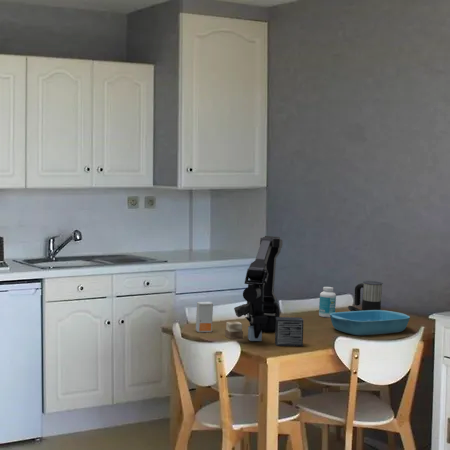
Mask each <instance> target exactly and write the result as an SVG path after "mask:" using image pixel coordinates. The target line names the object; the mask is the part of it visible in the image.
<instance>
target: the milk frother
mask: <svg viewBox="0 0 450 450" xmlns="http://www.w3.org/2000/svg"><path fill="white" fill-rule="evenodd" d="M383 284H384V283H383V282H382V281H376V280H375V281H373V280H365V281H363V282H362V283H358V284H357V285H356V286H355V287H354V305H355V306H360V305H361V309H359V308H358V307H355V306H353V305H349V306H348V307H347V308H348V311H365V310H382V308H381V307H382V305H381V304H382V294H383V293H382V291H383ZM361 289H362V291H361ZM361 292H362V293H361ZM361 294H362V298H361ZM361 299H362V301H361Z"/></svg>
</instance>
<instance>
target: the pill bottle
mask: <svg viewBox="0 0 450 450" xmlns="http://www.w3.org/2000/svg"><path fill="white" fill-rule="evenodd" d="M322 290H323V291H322V292H320V293H319V305H318V315H319V317H322V318H328V319H329V318H330V319H331V317H330V313H335V312H336V303H337V301H336V300H337V299H336V298H337V296H336V295H337V294H336V292H334V287H333V286H332V287H331V286H323V287H322Z"/></svg>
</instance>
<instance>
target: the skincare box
mask: <svg viewBox="0 0 450 450" xmlns="http://www.w3.org/2000/svg"><path fill="white" fill-rule="evenodd" d="M213 313H214V304H213V302H212V301H197V302H196V315H195V316H196V317H195V320H196V321H195V331H196V332H198V333H213V332H212V331H213V315H214V314H213Z"/></svg>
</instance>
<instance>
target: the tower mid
mask: <svg viewBox="0 0 450 450" xmlns="http://www.w3.org/2000/svg"><path fill="white" fill-rule="evenodd" d="M225 324H226V329H225V330H228V331H229V332H242V331H243V324H242V323H241V322H240V321H226V323H225Z"/></svg>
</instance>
